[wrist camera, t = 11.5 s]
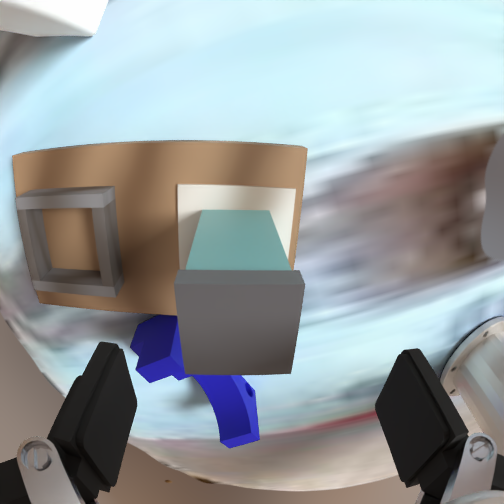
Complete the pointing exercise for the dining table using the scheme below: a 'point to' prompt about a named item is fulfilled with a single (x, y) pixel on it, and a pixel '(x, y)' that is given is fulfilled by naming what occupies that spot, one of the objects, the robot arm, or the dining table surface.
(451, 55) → the dining table surface
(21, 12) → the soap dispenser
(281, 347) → the plug
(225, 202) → the board
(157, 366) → the cable clip
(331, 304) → the dining table surface
